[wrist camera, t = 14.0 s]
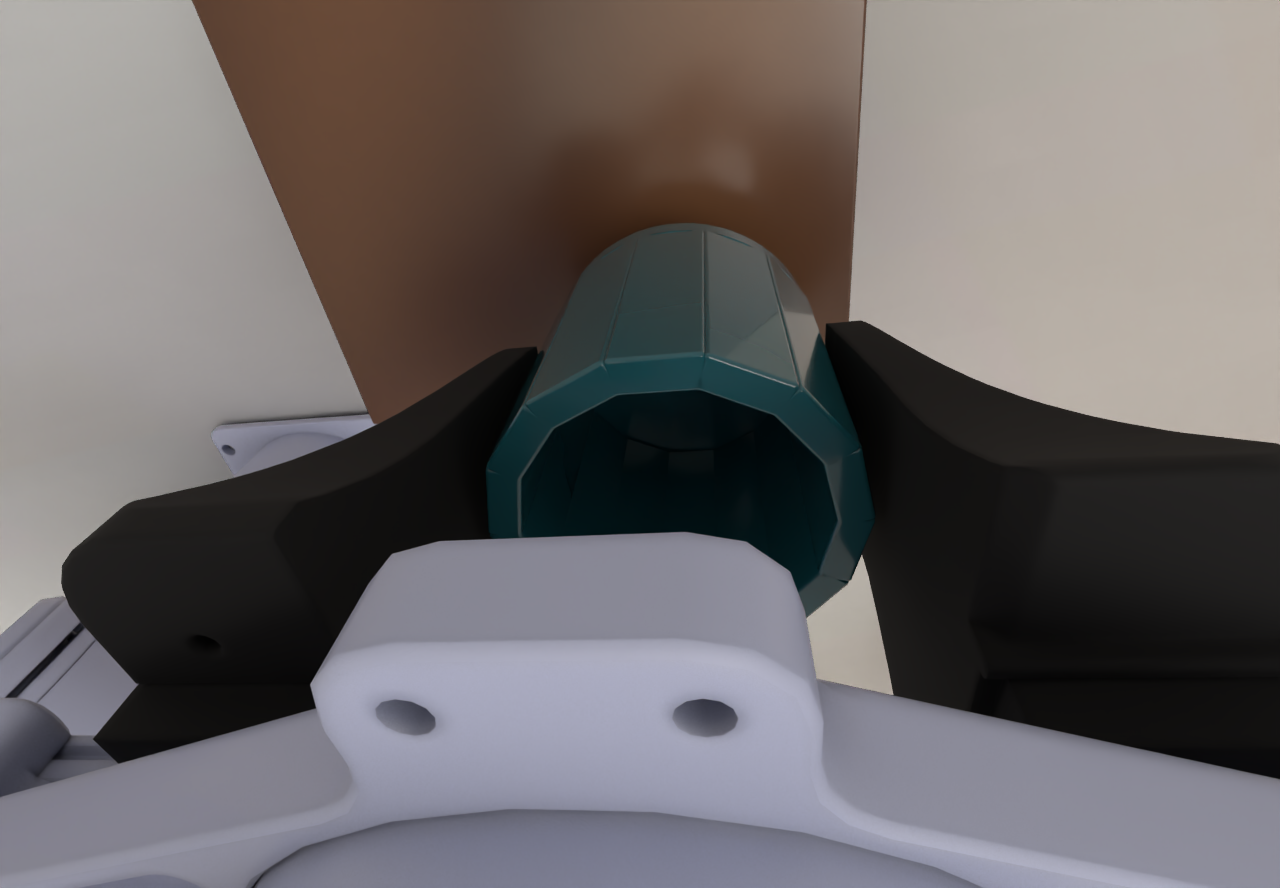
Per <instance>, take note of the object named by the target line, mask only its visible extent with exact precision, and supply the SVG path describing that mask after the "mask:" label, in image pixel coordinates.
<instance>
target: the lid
mask: <svg viewBox="0 0 1280 888" xmlns="http://www.w3.org/2000/svg"><path fill="white" fill-rule="evenodd" d="M192 2H193V4H194V6H195V9H196V11H197V13H198V16H199V18H200V20H201V23H202V25H203V27H204V30H205V32H206V34H207V37H208V39H209V41H210V44H211V46H212V48H213V51H214V53H215V55H216V58H217V60H218V62H219V65H220V67H221V69H222V72H223V74H224V76H225V79H226V81H227V83H228V86H229V88H230V90H231V93H232V95H233V97H234V100H235V102H236V104H237V107H238V109H239V111H240V114H241V116H242V118H243V121H244V123H245V125H246V128H247V130H248V132H249V135H250V137H251V139H252V142H253V144H254V146H255V149H256V151H257V153H258V156H259V158H260V160H261V163H262V165H263V167H264V170H265V172H266V174H267V177H268V179H269V181H270V184H271V186H272V188H273V191H274V193H275V195H276V198H277V200H278V202H279V205H280V207H281V209H282V212H283V214H284V217H285V219H286V221H287V224H288V226H289V228H290V231H291V233H292V235H293V238H294V240H295V242H296V245H297V247H298V249H299V252H300V254H301V256H302V259H303V261H304V263H305V266H306V268H307V270H308V273H309V275H310V277H311V280H312V282H313V284H314V287H315V289H316V291H317V294H318V296H319V298H320V301H321V303H322V305H323V308H324V310H325V312H326V315H327V317H328V319H329V322H330V324H331V326H332V329H333V331H334V333H335V336H336V338H337V340H338V343H339V345H340V347H341V350H342V352H343V354H344V357H345V359H346V361H347V364H348V366H349V368H350V371H351V373H352V375H353V378H354V380H355V382H356V385H357V387H358V389H359V392H360V394H361V396H362V399H363V401H364V403H365V406H366V408H367V410H368V413H369V415H370V417H371V420H372V422H373V423H374V424H379V423H381V422H383V421H385V420H387V419H388V418H390V417H392V416H394V415H396V414H398V413H400V412H401V411H403V410H405V409H406V408H408V407H410V406H411V405H413V404H415V403H416V402H418V401H420V400H422V399H423V398H425V397H427V396H428V395H430V394H432V393H433V392H435V391H437V390H438V389H440V388H441V387H443V386H445V385H446V384H448V383H449V382H451V381H452V380H454V379H455V378H457V377H458V376H460V375H462V374H463V373H465V372H466V371H468V370H469V369H471V368H472V367H474V366H475V365H477V364H479V363H480V362H482V361H483V360H485V359H487V358H488V357H490V356H492V355H494V354H496V353H498V352H500V351H502V350H504V349H510V348H523V347H535V346H537V350H538V354H539V352H540V350H541V348H542V346H543V344H544V342H545V339H546V337H547V335H548V333H549V331H550V329H551V327H552V325H553V323H554V320H555V318H556V316H557V315H558V313H559V311H560V310H561V308H562V306H563V304H564V303H565V301H566V299H567V297H568V295H569V293H570V291H571V289H572V287H573V285H574V284H575V282H576V281H577V279H578V277H579V276H580V274H581V273H582V272H583V271H584V269H585V268H586V267H587V266H588V265H589V264H590V263H591V261H592V260H594V259H595V258H596V257H597V256H598V255H599V254H600V253H602V252H603V251H604V250H605V249H607V248H608V247H610V246H611V245H613V244H614V243H616V242H617V241H619V240H621V239H623V238H625V237H627V236H629V235H631V234H633V233H636V232H638V231H642V230H645V229H648V228H651V227H655V226H661V225H667V224H675V223H696V224H706V225H712V226H716V227H721V228H725V229H728V230H731V231H733V232H736V233H739V234H741V235H744V236H746V237H747V238H749V239H751V240H753V241H755V242H757V243H758V244H760V245H761V246H763V247H764V248H765V249H767V250H768V251H769V252H771V253H772V254H773V255H774V256H775V257H776V258H777V259H778V260H779V261H780V262H781V263H782V264H783V265H784V266H785V267H786V268H787V269H788V270H789V272H790V273H791V274H792V276H793V277H794V279H795V280H796V281H797V283H798V285H799V287H800V289H801V291H802V292H803V293H804V295H805V296H806V297H807V300H808V301H809V303H810V306H811V309H812V311H813V314H814V317H815V320H816V322H817V325H818V328H819V331H820V333H821V336H822V339H823V342H824V344H825V332H826V323H838V322H849V309H850V291H851V273H852V255H853V237H854V220H855V202H856V184H857V166H858V148H859V131H860V113H861V95H862V77H863V59H864V42H865V24H866V6H867V0H192Z"/></svg>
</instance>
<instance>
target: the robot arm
mask: <svg viewBox="0 0 1280 888" xmlns="http://www.w3.org/2000/svg"><path fill="white" fill-rule="evenodd" d="M825 347H826V350H827V353H828V355H829V358H830V361H831V364H832V366H833V369H834V372H835V375H836V377H837V380H838V383H839V386H840V388H841V391H842V394H843V397H844V399H845V402H846V405H847V408H848V410H849V413H850V416H851V419H852V422H853V424H854V427H855V430H856V433H857V435H858V438H859V441H860V444H861V446H862V449H863V453H864V458H865V463H866V468H867V472H868V477H869V482H870V487H871V492H872V497H873V502H874V507H875V512H876V516H875V524H874V526H873V528H872V531H871V533H870V536H869V538H868V540H867V543H866V545H865V548H864V550H863V552H862V555H863V559H864V562H865V565H866V569H867V572H868V576H869V580H870V585H871V589H872V593H873V598H874V602H875V607H876V611H877V616H878V620H879V625H880V630H881V635H882V639H883V644H884V649H885V654H886V659H887V663H888V668H889V673H890V678H891V684H892V689H893V694H894V695H889V694H885V693H880V692H876V691H871V690H866V689H862V688H857V687H853V686H848V685H843V684H839V683H834V682H830V681H825V680H820V679H816V673H815V667H814V662H813V656H812V650H811V644H810V638H809V632H808V626H807V620H806V614H805V610H804V607H803V604H802V602H801V599H800V596H799V594H798V591H797V588H796V586H795V583H794V580H793V578H792V575H791V572H790V571H789V570H787V569H786V568H784V567H783V566H781V565H780V564H778V563H777V562H776V561H774V560H773V559H771V558H770V557H768V556H767V555H765V554H764V553H762V552H761V551H759V550H758V549H756V548H755V547H753V546H752V545H750V544H749V543H747V542H745V541H739V540H733V539H726V538H720V537H714V536H708V535H701V534H695V533H689V532H672V533H645V534H618V535H591V536H564V537H538V538H511V539H491V538H490V533H489V532H488V519H487V498H486V476H485V470H486V468H487V462H488V460H489V458H490V456H491V454H492V452H493V450H494V447H495V445H496V443H497V441H498V439H499V437H500V435H501V433H502V430H503V428H504V426H505V424H506V422H507V420H508V418H509V416H510V414H511V411H512V409H513V407H514V405H515V403H516V401H517V399H518V397H519V394H520V392H521V390H522V388H523V386H524V384H525V382H526V380H527V378H528V375H529V373H530V371H531V369H532V367H533V365H534V363H535V361H536V358H537V356H538V350H537V346H535V347H523V348H510V349H504V350H502V351H500V352H498V353H496V354H494V355H492V356H490V357H488V358H487V359H485V360H483V361H482V362H480V363H479V364H477V365H475V366H474V367H472V368H471V369H469V370H468V371H466V372H465V373H463V374H462V375H460V376H458V377H457V378H455V379H454V380H452V381H451V382H449V383H448V384H446V385H445V386H443V387H441V388H440V389H438V390H437V391H435V392H433V393H432V394H430V395H428V396H427V397H425V398H423V399H422V400H420V401H418V402H416V403H415V404H413V405H411V406H410V407H408V408H406V409H405V410H403V411H401V412H400V413H398V414H396V415H394V416H392V417H390V418H388V419H387V420H385V421H383V422H381V423H379V424H374V423H373V422H372V420H371V417H370V415H369V414H366V415H352V416H338V417H324V418H310V419H297V420H283V421H269V422H255V423H242V424H228V425H220V426H218V427H216V428H215V429H214V430H213V431H212V432H211V438H212V440H213V442H214V444H215V445H216V447H217V449H218V450H219V452H220V454H221V455H222V457H223V459H224V460H225V462H226V464H227V465H228V467H229V469H230V470H231V472H232V473H233V475H234V476H233V477H232V478H231V479H228V480H224V481H220V482H216V483H212V484H208V485H204V486H200V487H195V488H191V489H186V490H182V491H178V492H173V493H169V494H164V495H160V496H156V497H151V498H146V499H141V500H136V501H133V502H130V503H128V504H127V505H125V506H123V507H122V508H121V509H120V510H119V511H118V512H116V513H115V514H114V515H113V516H112V517H111V518H109V519H108V520H107V521H106V522H105V523H104V524H102V525H101V526H100V527H99V528H98V529H97V530H96V531H94V532H93V533H92V534H91V535H90V536H89V537H87V538H86V539H85V540H84V541H83V542H82V543H80V544H79V545H78V546H77V547H76V548H75V549H73V550H72V551H71V553H70V554H69V556H68V557H67V559H66V560H65V562H64V563H63V565H62V579H61V584H62V588H63V591H64V594H65V596H66V597H63V596H61V597H54V598H47V599H42V600H40V601H39V602H38V603H36V604H35V605H34V606H33V607H32V608H31V609H29V610H28V611H27V612H26V613H25V614H24V615H23V616H21V617H20V618H19V619H18V620H17V621H16V622H15V623H14V624H12V625H11V626H10V627H9V628H8V629H7V630H6V631H4V632H3V633H2V634H1V635H0V888H1280V445H1279V444H1276V443H1268V442H1259V441H1250V440H1241V439H1232V438H1224V437H1215V436H1206V435H1197V434H1188V433H1180V432H1173V431H1167V430H1161V429H1156V428H1150V427H1144V426H1139V425H1133V424H1127V423H1121V422H1117V421H1112V420H1107V419H1103V418H1098V417H1093V416H1089V415H1085V414H1081V413H1077V412H1073V411H1069V410H1065V409H1062V408H1058V407H1054V406H1050V405H1046V404H1043V403H1040V402H1036V401H1033V400H1030V399H1027V398H1023V397H1021V396H1018V395H1015V394H1012V393H1009V392H1007V391H1004V390H1001V389H998V388H995V387H993V386H990V385H987V384H985V383H982V382H980V381H978V380H975V379H973V378H970V377H968V376H966V375H964V374H962V373H960V372H958V371H955V370H953V369H951V368H949V367H947V366H945V365H943V364H941V363H939V362H937V361H935V360H933V359H931V358H929V357H927V356H925V355H924V354H922V353H920V352H918V351H916V350H914V349H913V348H911V347H909V346H907V345H906V344H904V343H902V342H900V341H899V340H897V339H895V338H893V337H892V336H890V335H888V334H887V333H885V332H883V331H881V330H879V329H878V328H876V327H874V326H872V325H870V324H868V323H866V322H863V321H851V322H838V323H826V332H825ZM230 446H231V447H233V448H231V447H230Z"/></svg>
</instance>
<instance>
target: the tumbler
mask: <svg viewBox="0 0 1280 888" xmlns="http://www.w3.org/2000/svg"><path fill="white" fill-rule="evenodd" d="M485 476H486V498H487V519H488V532H489V533H490V538H491V539H511V538H538V537H564V536H591V535H618V534H645V533H672V532H689V533H695V534H701V535H708V536H714V537H720V538H726V539H733V540H739V541H745V542H747V543H749V544H750V545H752V546H753V547H755V548H756V549H758V550H759V551H761V552H762V553H764V554H765V555H767V556H768V557H770V558H771V559H773V560H774V561H776V562H777V563H778V564H780V565H781V566H783V567H784V568H786V569H787V570H789V571H790V572H791V575H792V578H793V580H794V583H795V586H796V588H797V591H798V594H799V596H800V599H801V602H802V604H803V607H804V610H805V614H806V618H807V617H808V616H810V615H811V614H812V613H813V612H814V611H816V610H817V609H818V608H819V607H821V606H822V605H823V604H824V603H825V602H827V601H828V600H829V599H830V598H832V597H833V596H834V595H835V594H836V593H838V592H839V591H840V590H841V589H842V588H844V587H845V586H846V585H847V584H848V582H849V581H850V580H851V579H852V576H853V574H854V572H855V569H856V567H857V564H858V562H859V560H860V557H861V555H862V552H863V550H864V548H865V545H866V543H867V540H868V538H869V536H870V533H871V531H872V528H873V526H874V524H875V516H876V512H875V507H874V502H873V497H872V492H871V487H870V482H869V477H868V472H867V468H866V463H865V458H864V453H863V449H862V446H861V444H860V441H859V438H858V435H857V433H856V430H855V427H854V424H853V422H852V419H851V416H850V413H849V410H848V408H847V405H846V402H845V399H844V397H843V394H842V391H841V388H840V386H839V383H838V380H837V377H836V375H835V372H834V369H833V366H832V364H831V361H830V358H829V355H828V353H827V350H826V347H825V344H824V342H823V339H822V336H821V333H820V331H819V328H818V325H817V322H816V320H815V317H814V314H813V311H812V309H811V306H810V303H809V301H808V300H807V297H806V296H805V295H804V293H803V292H802V291H801V289H800V287H799V285H798V283H797V281H796V280H795V279H794V277H793V276H792V274H791V273H790V272H789V270H788V269H787V268H786V267H785V266H784V265H783V264H782V263H781V262H780V261H779V260H778V259H777V258H776V257H775V256H774V255H773V254H772V253H771V252H769V251H768V250H767V249H765V248H764V247H763V246H761V245H760V244H758V243H757V242H755V241H753V240H751V239H749V238H747V237H746V236H744V235H741V234H739V233H736V232H733V231H731V230H728V229H725V228H721V227H716V226H712V225H706V224H696V223H675V224H667V225H661V226H655V227H651V228H648V229H645V230H642V231H638V232H636V233H633V234H631V235H629V236H627V237H625V238H623V239H621V240H619V241H617V242H616V243H614V244H613V245H611V246H610V247H608V248H607V249H605V250H604V251H603V252H602V253H600V254H599V255H598V256H597V257H596V258H595V259H594V260H592V261H591V263H590V264H589V265H588V266H587V267H586V268H585V269H584V271H583V272H582V273H581V274H580V276H579V277H578V279H577V281H576V282H575V284H574V285H573V287H572V289H571V291H570V293H569V295H568V297H567V299H566V301H565V303H564V304H563V306H562V308H561V310H560V311H559V313H558V315H557V316H556V318H555V320H554V323H553V325H552V327H551V329H550V331H549V333H548V335H547V337H546V339H545V342H544V344H543V346H542V348H541V350H540V352H539V354H538V356H537V358H536V361H535V363H534V365H533V367H532V369H531V371H530V373H529V375H528V378H527V380H526V382H525V384H524V386H523V388H522V390H521V392H520V394H519V397H518V399H517V401H516V403H515V405H514V407H513V409H512V411H511V414H510V416H509V418H508V420H507V422H506V424H505V426H504V428H503V430H502V433H501V435H500V437H499V439H498V441H497V443H496V445H495V447H494V450H493V452H492V454H491V456H490V458H489V460H488V462H487V468H486V470H485Z"/></svg>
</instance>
